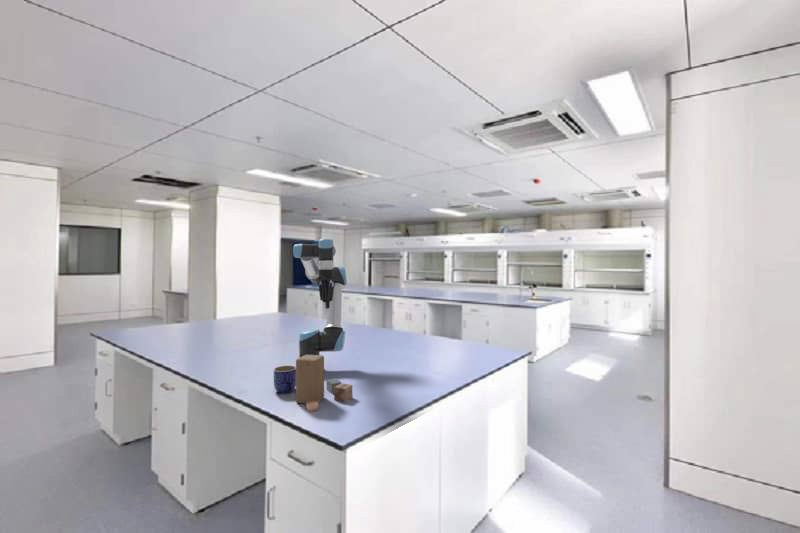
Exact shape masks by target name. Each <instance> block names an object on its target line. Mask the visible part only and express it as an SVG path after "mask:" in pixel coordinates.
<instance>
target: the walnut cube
mask: <svg viewBox="0 0 800 533" xmlns="http://www.w3.org/2000/svg"><path fill="white" fill-rule="evenodd" d="M333 398H334V400H333V401H338V402H342V403H343V402H344V403H346V402H348V401H349V400H351V399H353V384H347V383H342V382H341V384H339V385H338V386H336V387H334V396H333Z"/></svg>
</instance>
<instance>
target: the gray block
mask: <svg viewBox="0 0 800 533" xmlns="http://www.w3.org/2000/svg"><path fill="white" fill-rule="evenodd" d="M341 383H342V381H340V380H339V379H337V378H331V379H326V391H327V392H329V393H330V394H331V395H333V394H334V387H336V386H338V385H339V384H341Z"/></svg>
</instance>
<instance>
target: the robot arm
mask: <svg viewBox="0 0 800 533" xmlns="http://www.w3.org/2000/svg"><path fill="white" fill-rule="evenodd" d="M334 244H335V243H334V240H333V239H332V238H322V239H319V240H318V243H298V244H294V245H293V248H292V249H293V250H292V252H293V253H292V254H293V257H294V258H295V259H297V258H298V259H300V261H301V263H302V265H303V267H304V269H305V271H304V272H305V276H306V278H307V279H308V280H310V282H312V283H314V284H316V285H317V286H318V290H319V291H318V292H319V299H320V301H321V302H322V314H323V316H326V325H325V327H323V331H320V329H319V328H313V329H307V330H306V329H305V330H303V331H301V332H300V333H299V336H298V337H299V338H298V341H299V342H298V343H299V344H298V348H299V350H298V352H299V353H298V354H299V356H298V358H300V357H302V356H304V355H320V352H323V353H324V352H335V353H336V352H341V351H343V349H344V346H345V341H346V331H344V328H343V327H342V326H341V325H342V298H343V296H342V295H343V294H342V293H343V292H342V291H343V290H344V289H345V286H346V285H347V284H348V283H347V282H348V281H347V275H346V274H347V272H346V269H345V267H344V266H334V256H335V255H336V246H335V245H334ZM317 258H318V263H317V260H316V259H317Z"/></svg>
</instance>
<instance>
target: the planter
mask: <svg viewBox="0 0 800 533" xmlns="http://www.w3.org/2000/svg"><path fill="white" fill-rule="evenodd" d="M273 387H274V390H275V391H276V392H277V393H279V394H287V393H288V392H289V393H291V392H293V391H294V390H296V365H280V366H277V367H274V368H273ZM289 393H288V394H289Z"/></svg>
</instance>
